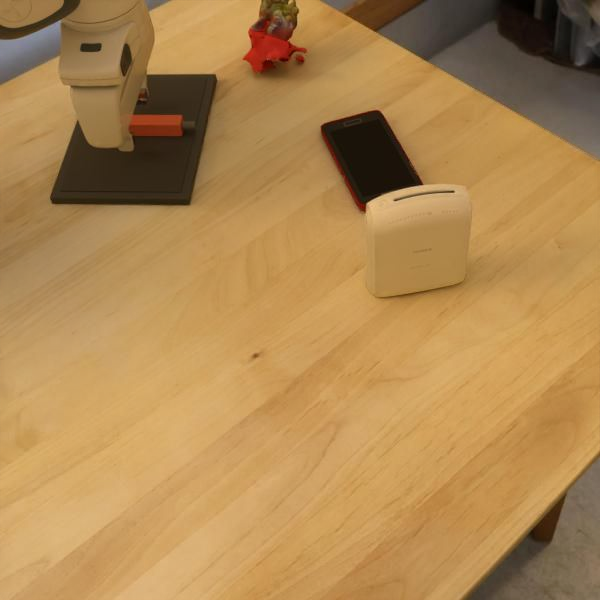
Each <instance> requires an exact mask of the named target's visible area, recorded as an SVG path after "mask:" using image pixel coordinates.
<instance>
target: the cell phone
mask: <svg viewBox="0 0 600 600" xmlns="http://www.w3.org/2000/svg"><path fill="white" fill-rule="evenodd" d="M320 133H321V136H322V138H323V140H324V142H325V144H326V146H327V149H328V150H329V152H330V154H331V156H332V158H333V161H334V162H335V164H336V166H337V168H338V170H339V173H340V174H341V175H342V176H343V178H344V182H345V185H346V186H347V189H348V190H349V192H350V195H351V196H352V199H353V201H354V202H355V205H356V206H357V207H358V209H359V210H360V211H363V212H366V204H367V203H368V202H370V201H371V200H373V199H375V198H377V197H380V196H382V195H385V194H387V193H390V192H394V191H397V190H401V189H405V188H409V187H415V186H421V185H424V182H423V181H422V178H421V177H420V175H419V173H418V171H417V170H416V168H415V166H414V165H413V163H412V162H411V160H410V158H409V157H408V154H407V153H406V151H405V149H404V147H403V145H402V144H401V142H400V141H399V139H398V137H397V136H396V134H395V132H394V130H393V128H392V127H391V125H390V124H389V122H388V120H387V119H386V116H385V115H384V114H383V113H382V111H380V110H379V109H374V110H368V111H364V112H361V113H357V114H352V115H349V116H345V117H341V118H338V119H333V120H330V121H327V122H324V123H322V124H321V125H320Z"/></svg>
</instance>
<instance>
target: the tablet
mask: <svg viewBox="0 0 600 600" xmlns="http://www.w3.org/2000/svg"><path fill="white" fill-rule="evenodd" d="M217 81H218V78H217V74H216V73H163V74H162V73H160V74H159V73H155V74H153V73H152V74H151V73H149V74H148V73H147V88H148V92H149V97H148V100H147V103H146V104H145V105H142V104H140V105H136V106H135V109H134V113H133V115H182V117H183V121H195V122H196V130H184V131H183V135H182V136H135V139H136V142H135V146H134V149H133V151H120V150H119V149H118V148H96V147H93V146H92V145H90V144H89V143H88V142H87V140H86V138H85V136H84V133H83V131H82V128H81V126H80V123H79V121H78V119H77V120H76V123H75V125H74V128H73V131H72V134H71V136H70V140H69V142H68V145H67V148H66V149H65V153H64V156H63V159H62V162H61V164H60V167H59V171H58V173H57V175H56V179H55V180H54V184H53V187H52V190H51V192H50V195H49V199H50V202H51V204H52V205H53V204H54V205H55V204H56V205H57V204H61V205H63V204H64V205H67V204H68V205H75V204H76V205H147V206H148V205H150V206H151V205H152V206H158V205H159V206H167V205H168V206H190V204H191V201H192V196H193V191H194V187H195V183H196V177H197V173H198V169H199V163H200V160H201V154H202V151H203V146H204V142H205V137H206V136H205V135H206V132H207V127H208V124H209V123H208V122H209V118H210V113H211V108H212V104H213V99H214V95H215V90H216V85H217Z"/></svg>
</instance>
